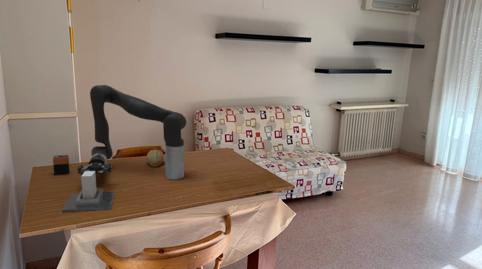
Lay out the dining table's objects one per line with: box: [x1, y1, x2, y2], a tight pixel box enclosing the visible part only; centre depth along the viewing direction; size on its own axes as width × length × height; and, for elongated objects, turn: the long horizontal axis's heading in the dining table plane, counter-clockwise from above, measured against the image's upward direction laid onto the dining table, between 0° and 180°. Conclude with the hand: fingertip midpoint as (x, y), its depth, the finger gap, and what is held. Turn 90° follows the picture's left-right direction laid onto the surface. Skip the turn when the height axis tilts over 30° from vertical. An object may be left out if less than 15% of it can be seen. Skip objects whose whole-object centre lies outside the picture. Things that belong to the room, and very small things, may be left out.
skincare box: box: [80, 171, 97, 199], centre depth 144 cm, size 6×4×12 cm
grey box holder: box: [61, 188, 115, 213], centre depth 145 cm, size 18×16×4 cm
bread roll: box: [146, 149, 165, 168], centre depth 198 cm, size 10×15×8 cm, turn 19°
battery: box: [52, 153, 70, 176], centre depth 175 cm, size 4×7×10 cm, turn 111°
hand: (92, 174), depth 154 cm, fingers open, 8 cm apart
